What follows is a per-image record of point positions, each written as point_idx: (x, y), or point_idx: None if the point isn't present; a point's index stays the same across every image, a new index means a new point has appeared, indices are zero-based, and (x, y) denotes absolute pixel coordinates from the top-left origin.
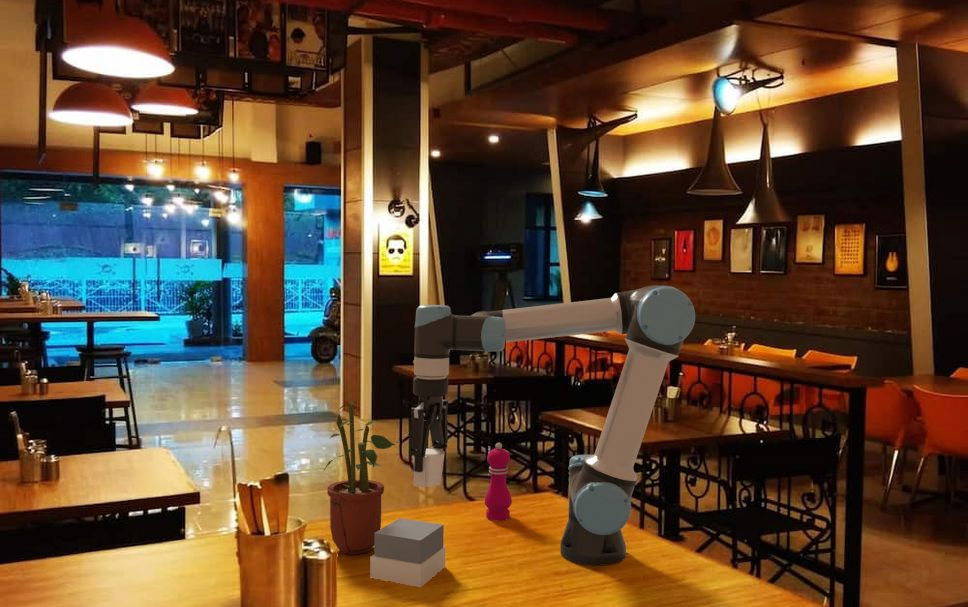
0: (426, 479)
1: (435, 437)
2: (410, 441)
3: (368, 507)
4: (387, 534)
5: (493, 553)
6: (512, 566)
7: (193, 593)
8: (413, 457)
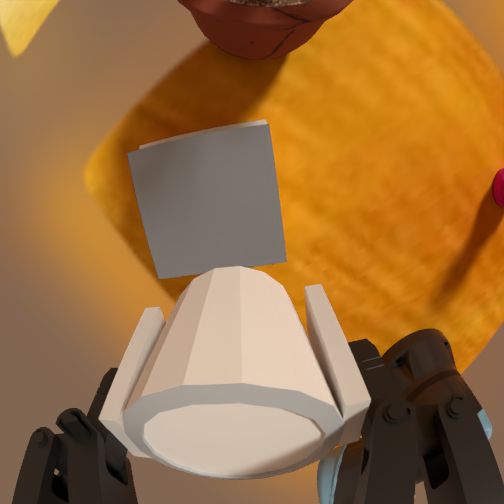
0: None
1: (359, 498)
2: (20, 487)
3: (231, 30)
4: (137, 188)
5: (377, 263)
6: (337, 314)
7: (14, 24)
8: (152, 366)
